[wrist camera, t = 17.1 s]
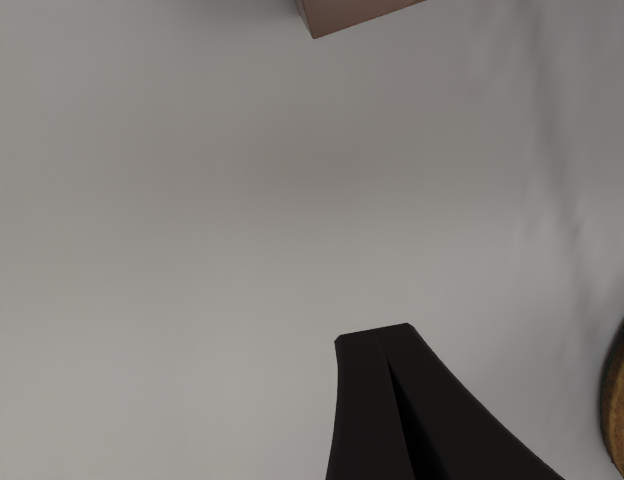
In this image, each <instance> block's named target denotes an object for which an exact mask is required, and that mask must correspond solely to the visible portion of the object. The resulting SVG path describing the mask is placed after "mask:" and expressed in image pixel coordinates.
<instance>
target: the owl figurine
mask: <svg viewBox="0 0 624 480" xmlns="http://www.w3.org/2000/svg"><path fill="white" fill-rule="evenodd" d="M600 414H601V431H602V436H603V440H604V443H605V445H606V448H607V451H608V454H609V456H610V457H611V460H612V463H613V464H614V465H615V467H616V468H617V470H618V471H619V473H620V474H621V475H622V476H623V478H624V327H623V329H622V331H621V333H620V335H619V337H618V340H617V342H616V344H615V346H614V348H613V350H612V352H611V354H610V358H609V360H608V362H607V365H606V370H605V373H604V376H603V381H602V389H601V398H600Z"/></svg>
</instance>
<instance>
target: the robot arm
mask: <svg viewBox="0 0 624 480" xmlns="http://www.w3.org/2000/svg"><path fill="white" fill-rule="evenodd" d="M334 343H335V350H336V357H337V364H338V387H337V403H336V413H335V422H334V432H333V439H332V446H331V451H330V457H329V462H328V468H327V474H326V479H325V480H565V479H564V478H562V477H561V476H560V475H559V474H558V473H556V472H555V471H554V470H553V469H552V468H550V467H549V466H548V465H547V464H546V463H544V462H543V461H542V460H541V459H540V458H539V457H538V456H536V455H535V454H534V453H533V452H532V451H531V450H529V449H528V448H527V447H526V446H525V445H524V444H523V443H522V442H521V441H520V440H519V439H517V438H516V437H515V436H514V435H513V434H512V433H511V432H510V431H509V430H508V429H506V428H505V427H504V426H503V425H502V424H501V423H500V422H499V421H498V420H497V419H496V418H495V417H494V416H493V415H492V414H491V413H490V412H489V411H488V410H487V409H486V408H485V407H484V406H483V405H482V404H481V403H480V402H479V401H478V400H477V399H476V398H475V397H474V396H473V395H472V394H471V393H470V392H469V391H468V390H467V389H466V388H465V387H464V386H463V384H462V383H461V382H460V381H459V380H458V379H457V378H456V377H455V376H454V375H453V374H452V373H451V371H450V370H449V369H448V368H447V367H446V366H445V365H444V364H443V362H442V361H441V360H440V359H439V358H438V357H437V355H436V354H435V353H434V352H433V351H432V350H431V348H430V347H429V346H428V345H427V343H426V342H425V341H424V340H423V338H422V337H421V336H420V335H419V333H418V332H417V331H416V329H415V328H414V327H413V326H412V325H410V324H409V323H403V324H398V325H392V326H387V327H381V328H376V329H370V330H365V331H359V332H354V333H348V334H343V335H340V336H339V337H338V338H337V339H336V340H335V341H334Z"/></svg>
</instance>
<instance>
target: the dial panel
mask: <svg viewBox="0 0 624 480" xmlns="http://www.w3.org/2000/svg"><path fill="white" fill-rule="evenodd" d="M295 1H296V4H297V7H298V10H299V14H300V16H301V18H302V20H303V22H304V23H305V25H306V27H307V29H308V31H309V33H310V34H311V36H312V38H313V39H317V38H319V37H322V36H325V35H328V34H331V33H334V32H337V31H339V30H342V29H345V28H348V27H351V26H354V25H357V24H359V23H362V22H365V21H368V20H371V19H374V18H377V17H379V16H382V15H385V14H388V13H391V12H394V11H397V10H399V9H402V8H405V7H408V6H411V5H414V4H417V3H420V2H422V1H425V0H295Z"/></svg>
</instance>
